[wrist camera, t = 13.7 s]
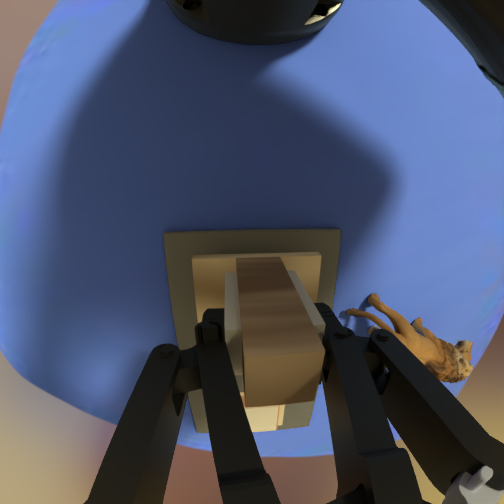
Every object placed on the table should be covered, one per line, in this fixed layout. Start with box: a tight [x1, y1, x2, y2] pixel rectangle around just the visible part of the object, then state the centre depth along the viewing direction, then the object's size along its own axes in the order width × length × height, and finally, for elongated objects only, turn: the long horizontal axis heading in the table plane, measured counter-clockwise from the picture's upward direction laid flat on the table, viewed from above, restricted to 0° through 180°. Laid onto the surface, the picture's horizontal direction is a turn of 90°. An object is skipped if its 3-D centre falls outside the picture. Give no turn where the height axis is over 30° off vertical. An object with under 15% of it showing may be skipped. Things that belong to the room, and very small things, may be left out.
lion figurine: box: [346, 293, 473, 383], centre depth 22 cm, size 15×5×9 cm, turn 70°
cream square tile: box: [241, 396, 280, 432], centre depth 26 cm, size 5×5×2 cm
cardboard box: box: [192, 252, 325, 408], centre depth 16 cm, size 6×9×11 cm, turn 90°
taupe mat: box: [163, 229, 341, 433], centre depth 25 cm, size 25×14×1 cm, turn 0°
